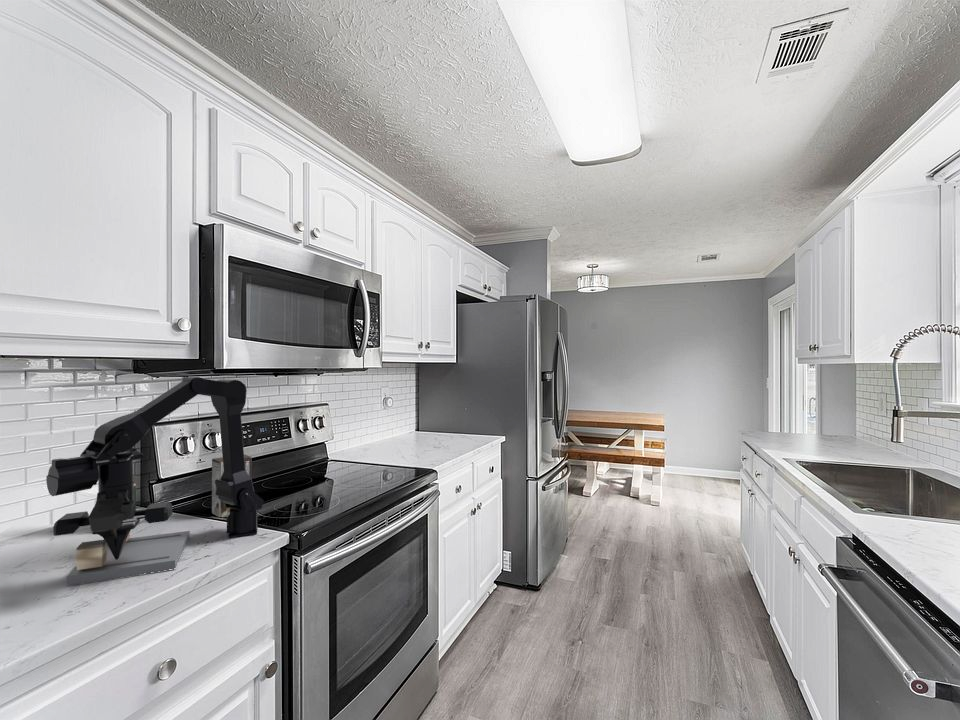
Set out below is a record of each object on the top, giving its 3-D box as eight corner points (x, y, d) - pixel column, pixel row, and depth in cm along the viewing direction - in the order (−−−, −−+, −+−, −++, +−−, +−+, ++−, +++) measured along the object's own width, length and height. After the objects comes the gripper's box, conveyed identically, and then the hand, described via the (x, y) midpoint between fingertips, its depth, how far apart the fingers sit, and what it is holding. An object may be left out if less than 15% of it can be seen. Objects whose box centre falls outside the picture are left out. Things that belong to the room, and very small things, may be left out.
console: (189, 538, 115) (189, 530, 115) (175, 569, 98) (175, 559, 98) (99, 550, 108) (99, 541, 108) (66, 586, 91) (66, 575, 91)
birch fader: (107, 560, 97) (107, 539, 97) (102, 566, 94) (102, 544, 94) (82, 564, 95) (82, 542, 95) (76, 570, 92) (76, 547, 92)
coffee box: (243, 506, 142) (243, 453, 142) (252, 510, 138) (253, 456, 138) (210, 513, 135) (211, 458, 135) (219, 518, 131) (220, 461, 131)
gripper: (40, 500, 85) (41, 585, 85) (161, 487, 93) (162, 565, 93) (64, 485, 95) (65, 562, 95) (172, 475, 103) (173, 545, 103)
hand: (117, 558), depth 96 cm, fingers closed
